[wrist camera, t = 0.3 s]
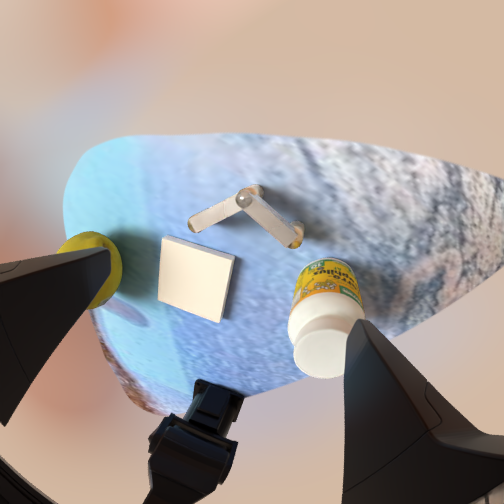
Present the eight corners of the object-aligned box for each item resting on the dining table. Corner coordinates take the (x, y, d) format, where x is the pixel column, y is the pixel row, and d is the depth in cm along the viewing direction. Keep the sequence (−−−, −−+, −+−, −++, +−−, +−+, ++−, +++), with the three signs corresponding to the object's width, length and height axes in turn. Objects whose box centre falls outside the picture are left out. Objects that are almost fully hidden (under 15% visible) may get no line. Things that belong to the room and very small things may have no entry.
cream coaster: (222, 317, 28) (219, 323, 27) (162, 295, 29) (157, 299, 28) (235, 256, 25) (231, 260, 24) (167, 234, 26) (162, 238, 25)
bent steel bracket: (298, 249, 23) (294, 266, 20) (201, 221, 24) (183, 232, 21) (313, 200, 22) (312, 208, 18) (210, 173, 23) (191, 177, 20)
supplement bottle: (289, 300, 25) (269, 373, 16) (307, 247, 23) (297, 306, 14) (343, 316, 24) (347, 393, 16) (366, 266, 22) (386, 333, 14)
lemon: (101, 297, 32) (60, 329, 24) (74, 244, 30) (27, 267, 23) (157, 274, 28) (110, 312, 21) (123, 207, 26) (67, 229, 19)
